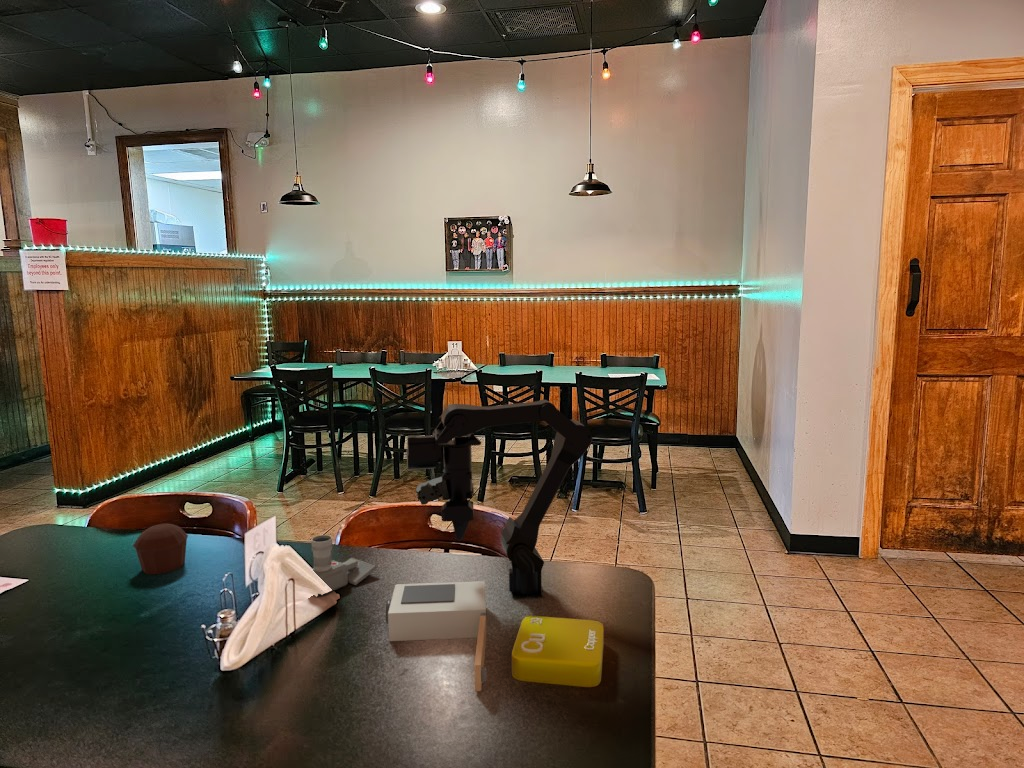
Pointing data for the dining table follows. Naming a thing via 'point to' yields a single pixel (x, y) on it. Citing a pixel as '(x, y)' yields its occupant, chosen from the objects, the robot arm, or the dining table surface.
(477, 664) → the side door
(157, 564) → the muffin
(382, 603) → the dining table surface
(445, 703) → the dining table surface
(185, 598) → the dining table surface
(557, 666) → the element tile
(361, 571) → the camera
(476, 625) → the white box
